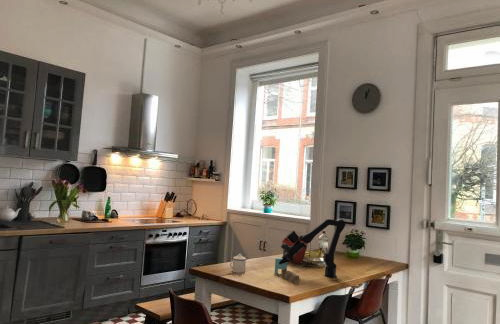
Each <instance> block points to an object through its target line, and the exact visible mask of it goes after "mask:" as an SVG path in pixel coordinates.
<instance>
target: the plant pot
mask: <svg viewBox="0 0 500 324" xmlns="http://www.w3.org/2000/svg"><path fill="white" fill-rule="evenodd" d="M297 241H298V240H297ZM297 241H296V242H297ZM299 241H300V242H301V240H300V239H299ZM281 242H282V243H285V244H287V245H288V246H293V245H294V244H295V243H296V242H295V243H291V242H290V241H289V239H288V238H287V237H284V238H283V239H282V241H281ZM302 242H303V243H304V244H307V245H308V244H309V243H305V242H304V241H302ZM282 243H281V244H282ZM283 250H284V249H283V248H282V253H283V252H284V251H283ZM305 252H306V253H307V249H305V247H303V248H302V249H301V250H300V251H299V252H298V254H295V255H294V256H293V258H294V260H293V261H292V262H291V261H289V262H288V263H293V264H294V263H296V264H302V263H303V262H304V259H305V256H304V255H306V253H305ZM284 253H285V252H284ZM302 261H303V262H302ZM301 262H302V263H301Z"/></svg>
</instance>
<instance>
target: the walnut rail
mask: <svg viewBox="0 0 500 324" xmlns="http://www.w3.org/2000/svg"><path fill="white" fill-rule="evenodd" d="M280 270H281V271H280V272H281V273H280V278H283V279H285V280H286V281H288V282H290V283H292V284H293V285H300V275H298V274H296V273H295V272H292V271H290V270H287V271H286V269H280Z"/></svg>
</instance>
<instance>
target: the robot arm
mask: <svg viewBox="0 0 500 324" xmlns="http://www.w3.org/2000/svg"><path fill="white" fill-rule="evenodd" d="M328 226H333V227H334V230H333V235H332V237H331V241H330V243H329V244H330V245H329V247H328V250H327V252H325V251H324V252H323V256H322V258H323V259H322V260H323V263H324V264H325V268H324V277H328V278H336V277H337V276H338V275H337V265H336V263H335V262H334V260H335V252H336V248H337V246H338V242H339V239H340V236H341V233H342V232H343V230H344V229H345V227H346V222H345V220H344V219H342V218H337V219H332V218H331V219H330V218H325V219H324V221H322V222H321V223H320V224H318V225H317V226H316V227H315V228H313V229H311V230H310V231H307V232H306V233H304V234H302V235H298V234H297V233H296V231H295V230H292V231H291V232H289V233H288V234H287V235H286V237H285V238H288V239H289V241H290V242H291V243H295V242H296V241H297V240H298V241H297V242H296V243H295V244H294V245H293V246H288V245H287V244H285V243H281V246H280V248H281V249H282V257H281V258H282V260H281V261H280V262H279V264H283V263H286V262H287V263H293V262H292V261H293V260H294V258H293V256H294V255H295V254H298V252H299V251H300V250H301V249H302V248H303V247H305V249H306V250H307V248H308V244H310V243H311V242H312V241H313V240H314V238H315V237H316V236H317V235H318V234H319V233H321V232H322V231H323V230H325V229H326V228H327V227H328ZM299 239H300V240H301V242H300V241H299ZM302 241H304V242H305V243H308V244H304V243H303V242H302ZM283 249H284V250H283ZM283 251H284V252H285V253H284V252H283ZM289 261H291V262H289Z"/></svg>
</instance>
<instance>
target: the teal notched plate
mask: <svg viewBox="0 0 500 324" xmlns="http://www.w3.org/2000/svg"><path fill="white" fill-rule="evenodd" d="M281 260H282V257H275V259H274V274H278V273H279V270H281V269H286V271H288V262H286V263H283V264H279V262H280V261H281Z"/></svg>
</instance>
